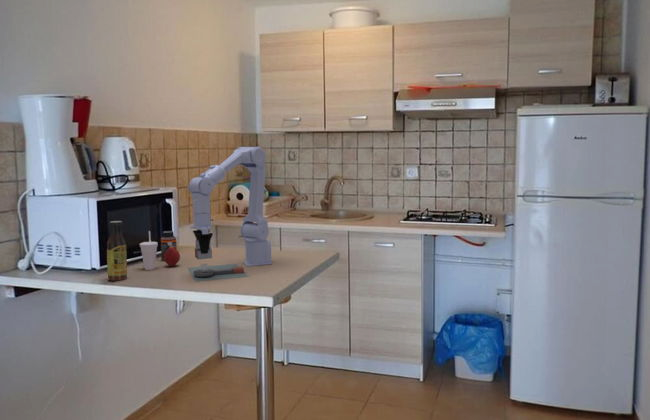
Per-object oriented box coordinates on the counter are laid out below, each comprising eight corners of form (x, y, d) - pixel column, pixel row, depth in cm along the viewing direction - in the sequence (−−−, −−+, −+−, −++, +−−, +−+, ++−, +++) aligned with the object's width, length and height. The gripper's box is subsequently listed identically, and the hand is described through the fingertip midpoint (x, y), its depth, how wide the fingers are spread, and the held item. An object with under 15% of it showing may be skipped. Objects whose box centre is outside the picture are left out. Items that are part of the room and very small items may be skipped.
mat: (236, 264, 214) (236, 263, 214) (248, 277, 194) (248, 276, 194) (187, 268, 208) (187, 267, 208) (195, 282, 188) (195, 281, 188)
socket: (209, 255, 198) (208, 238, 197) (212, 258, 194) (211, 241, 193) (194, 256, 196) (194, 239, 195) (197, 259, 192) (197, 242, 191)
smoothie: (162, 268, 208) (160, 231, 206) (146, 272, 203) (144, 233, 201) (153, 266, 212) (151, 229, 210) (137, 269, 208) (135, 231, 206)
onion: (175, 268, 208) (174, 247, 207) (161, 268, 209) (160, 246, 208) (182, 265, 214) (182, 244, 213) (168, 264, 215) (167, 244, 214)
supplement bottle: (174, 261, 220) (173, 232, 219) (159, 261, 221) (158, 232, 219) (178, 258, 226) (177, 230, 225) (164, 258, 226) (162, 230, 225)
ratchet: (195, 279, 191) (194, 267, 191) (192, 274, 198) (192, 263, 197) (245, 274, 197) (245, 263, 196) (241, 270, 203) (240, 259, 203)
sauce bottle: (116, 282, 188) (112, 223, 186) (103, 280, 192) (100, 222, 189) (132, 278, 194) (128, 220, 191) (120, 276, 197) (116, 219, 195)
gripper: (187, 210, 198) (189, 249, 200) (192, 215, 185) (194, 256, 186) (207, 209, 201) (209, 247, 202) (214, 214, 187) (215, 255, 189)
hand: (203, 251), depth 195 cm, fingers closed on socket, 5 cm apart
